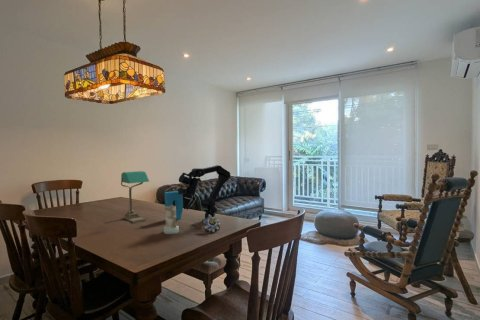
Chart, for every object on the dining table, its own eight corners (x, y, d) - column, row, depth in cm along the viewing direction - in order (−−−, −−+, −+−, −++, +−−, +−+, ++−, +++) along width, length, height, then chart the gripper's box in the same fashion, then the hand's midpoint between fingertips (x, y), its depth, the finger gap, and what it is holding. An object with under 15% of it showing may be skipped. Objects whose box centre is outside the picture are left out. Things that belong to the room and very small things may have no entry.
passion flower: (213, 240, 165) (204, 228, 159) (204, 233, 173) (195, 221, 167) (226, 228, 169) (218, 215, 163) (217, 221, 178) (209, 208, 172)
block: (167, 221, 191) (166, 193, 190) (165, 219, 195) (164, 192, 194) (183, 218, 197) (182, 191, 196) (180, 217, 201) (180, 190, 200)
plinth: (181, 230, 170) (181, 225, 170) (174, 234, 161) (174, 230, 161) (168, 229, 172) (168, 224, 172) (161, 233, 163) (160, 229, 163)
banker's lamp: (139, 215, 210) (138, 170, 208) (151, 220, 194) (150, 171, 193) (118, 218, 199) (117, 171, 197) (129, 224, 184) (127, 173, 182)
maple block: (172, 225, 170) (171, 205, 169) (176, 227, 166) (175, 206, 166) (165, 227, 166) (165, 206, 166) (169, 228, 163) (169, 207, 162)
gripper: (183, 185, 190) (177, 206, 187) (178, 181, 172) (170, 205, 169) (198, 189, 190) (192, 210, 186) (195, 186, 171) (187, 210, 168)
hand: (185, 209), depth 177 cm, fingers open, 9 cm apart
